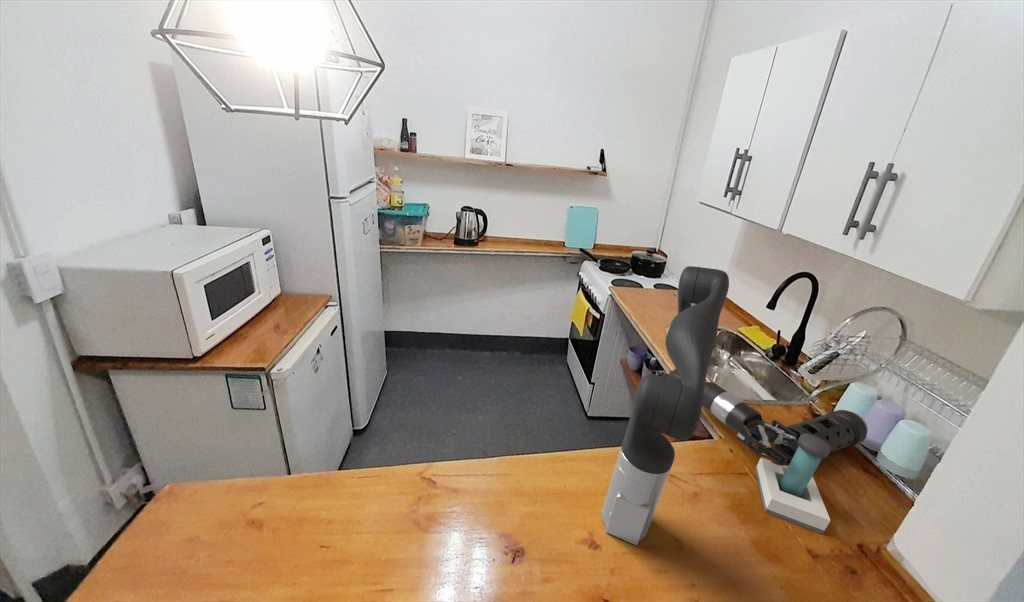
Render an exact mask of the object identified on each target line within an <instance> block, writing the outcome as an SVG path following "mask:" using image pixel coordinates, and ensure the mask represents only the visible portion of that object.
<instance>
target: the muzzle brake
mask: <svg viewBox="0 0 1024 602" xmlns="http://www.w3.org/2000/svg"><path fill="white" fill-rule="evenodd" d="M786 427H787V428H788V429H790V430H792V431H793V432H795V433H796V434H797V435H798V436H797V438H796V440H797V441H798V439H799V437H800V435H801V434H804V433H806V434H811V435H814V436H816V437H819V438H820V439H822V440H824V441H825V442H826V443H827V444H828V445H829V446H830V447H831V451H830V453H829V454H831V453H833V452H836V451H838V450H843V449H845V448H849V447H853V446H856V445H859V444H861V443H863V442H864V441H865V440H866V438H867V435H868V425H867V423H866V421H865V419H864V418H863V417H862V416H861V415H860V414H858V413H856V412H854V411H850V410H845V409H839V410H838V409H837V410H833V411H831V412H828V413H825V414H823V415H821V416H817V417H814V418H811V419H808V420H804V421H801V422H797V423H794V424H789V425H787V426H786ZM786 434H789V433H787V432H786ZM789 435H790V434H789ZM778 436H779V435H778V434H777V438H778ZM783 440H785V439H784V438H783ZM785 441H787V440H785ZM774 444H775V447H776V450H778V451H779V452H780V453H782V454H783V455H784V456H786V457H787V458H788V461H787V463H789V462H791V460H792V458H793V457H794V455H795V453H796V451H794V450H793V449H791V448H790V447H789V446H786V445H784V444H776V443H774Z"/></svg>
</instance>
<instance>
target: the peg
mask: <svg viewBox="0 0 1024 602" xmlns="http://www.w3.org/2000/svg"><path fill="white" fill-rule="evenodd" d="M797 442H798V445H799V447H798V449H797V451H796V453H795V455H794V457H793V458H792V460H791V461H790V463H789V465H787V466H788V468H787V470H786V472H785V474H784V476H783V478H782V480H781V482H780V484H779V489H780V491H782V492H785V493H788V494H791V495H794V496H796V497H799V498H800V497H801V496H802V494H803V492H804V490H805V488H806V487H807V485H808V483H809V481H810V479H811V478H812V476H813V477H814V473H815V472H816V470H817V468H818V467H819V465H820V463H821V461H822V459H825V458H828V457H829V454H831V453H830V451H831V447H830V446H829V445H828V444H827V443H826V442H825V441H824V440H822V439H820V438H819V437H816V436H814V435H811V434H806V433H804V434H801V435H800V437H799V439H798V441H797Z"/></svg>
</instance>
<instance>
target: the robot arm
mask: <svg viewBox="0 0 1024 602" xmlns="http://www.w3.org/2000/svg"><path fill="white" fill-rule="evenodd" d="M729 287H730V278H729V275H728V273H727V272H726V271H724V270H721V269H716V268H710V267H700V266H690V265H688V266H685V267H684V269H683V270H682V271H681V274H680V277H679V282H678V287H677V314H676V315H675V316H674V318H673V319H672V320H671V323H670V326H669V328H668V330H667V334H666V336H665V341H664V342H665V343H664V344H665V348H666V351H667V354H668V356H669V359H670V361H671V362H672V364H673V366H674V367H675V369H673V370H671V371H669V372H668V374H667V376H666V377H663V376H660V375H657V374H655V373H647V374H645V375H644V376H643V377H642V378H641V380H640V381H639V383H638V386H637V388H636V390H635V395H634V397H633V403H632V407H631V412H630V416H629V420H628V424H627V428H626V431H625V434H624V436H623V437H624V438H623V440H622V444H621V447H620V449H619V453H618V457H617V460H616V463H615V466H614V471H613V474H612V476H611V480H610V482H609V486H608V490H607V493H606V496H605V500H604V503H603V507H602V510H601V518H602V522H603V524H604V525H605V533H607V534H609V535H612V536H613V537H616V538H618V539H621V540H623V541H625V542H627V543H629V544H632V545H634V546H638V545H639V542H640V541H641V540H643V539H644V538H645V537H646V536H647V534H648V531H649V529H650V526H651V524H652V521H653V517H654V514H655V512H656V510H657V507H658V504H659V501H660V498H661V496H662V493H663V490H664V488H665V484H666V482H667V480H668V478H669V475H670V472H671V469H672V467H673V463H674V461H675V456H676V454H675V453H676V452H675V449H674V447H673V445H672V443H671V442H670V441H669V440H668V438H667V437H666V436H668V437H671V438H674V439H677V440H680V441H688V440H689V439H690V438H692V437H693V435H694V434H695V432H697V428H698V426H699V422H700V419H701V416H702V411H703V407H704V408H705V409H706V410H708V411H709V412H710V413H711V414H712V415H714V416H715V417H716V419H718V420H719V421H720V422H721V423H723V424H724V425H725V426H727V427H728V428H729V429H731V430H732V431H733V432H734V433H736V434H737V435H736V437H735V438H736V439H737V440H738V441H739V442H740V443H741V444H743V445H744V446H745V447H747V449H749V450H750V451H751V452H752V453H754V454H755V455H757V456H758V455H760V454H762V455H764V456H767V457H768V458H770V459H772V460H773V461H774V462H776V464H777V465H781V466H784V465H785V466H787V463H788V462H787V461H788V458H787V457H786V456H784V455H783V454H782V453H780V452H779V451H778V449H777V448H775V447H773V446H772V447H771V444H773V443H774V444H775V443H776V444H784V445H786V446H789V447H790V448H791V449H793V450H794V451H797V449H798V447H799V445H798V442H797V440H796V438H797V436H798V435H797V434H796V433H795V432H793V431H792V430H790V429H788V428H787V426H785V425H784V424H782V423H781V422H779V421H777V420H775V419H773V420H772V421H771V422H770V423H768V422H766V421H764V420H763V419H762V418H763V417H762V414H761V412H760V411H758V410H757V409H755V408H754V407H752V406H751V405H749V404H748V403H746V402H745V401H744V400H742V399H740V398H739V397H737V396H736V395H734V394H732V393H731V392H728V391H727V390H725V388H723V387H722V386H720V385H719V384H717V383H715V382H713V381H706V380H707V373H708V368H709V366H710V361H711V359H712V354H713V351H714V348H715V342H716V339H717V334H718V329H719V321H720V316H721V313H722V311H723V310H722V309H723V307H724V304H725V302H726V299H727V296H728V292H729ZM692 304H693V305H692ZM786 432H787V433H789V434H790V435H789V434H786ZM777 434H778V435H779V436H778V438H777ZM783 438H784V439H785V440H787V441H785V440H783ZM753 444H754V445H755V446H754V445H753ZM776 444H775V445H776Z"/></svg>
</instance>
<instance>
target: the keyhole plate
mask: <svg viewBox="0 0 1024 602" xmlns="http://www.w3.org/2000/svg"><path fill="white" fill-rule="evenodd" d="M788 466H789V465H784V466H781V465H780V464H778V463H773V461H772V460H770V459H767V458H765V457H762V456H761V457H760V458H759V461H758V462H757V465H756V467H755V469H754V471H755V474H756V476H755V477H756V478H757V483H758V488H759V493H760V496H761V502H762V505H763V510H764V513H765V514H769V515H771V516H773V517H775V518H776V517H777V518H778V519H782V520H785V521H787V522H789V523H792V524H795V525H797V526H800V527H802V528H805V529H808V530H812V531H814V532H817V533H819V534H821V535H822V534H824V532H825V530H826V529H827V527H828V526H829V524H830V522H831V518H830V516H829V513H828V511H827V508H826V506H825V503H824V501H823V498H822V496H821V493H820V491H819V488H818V486H817V483H816V481H815V479H814V475H813V476H812V478H811V479H810V481H809V483H808V485H807V487H806V488H805V490H804V492H803V494H802V496H801V497H800V498H799V497H796V496H794V495H791V494H788V493H785V492H782V491H780V489H779V484H780V482H781V480H782V478H783V476H784V474H785V472H786V470H787V468H788Z"/></svg>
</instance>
